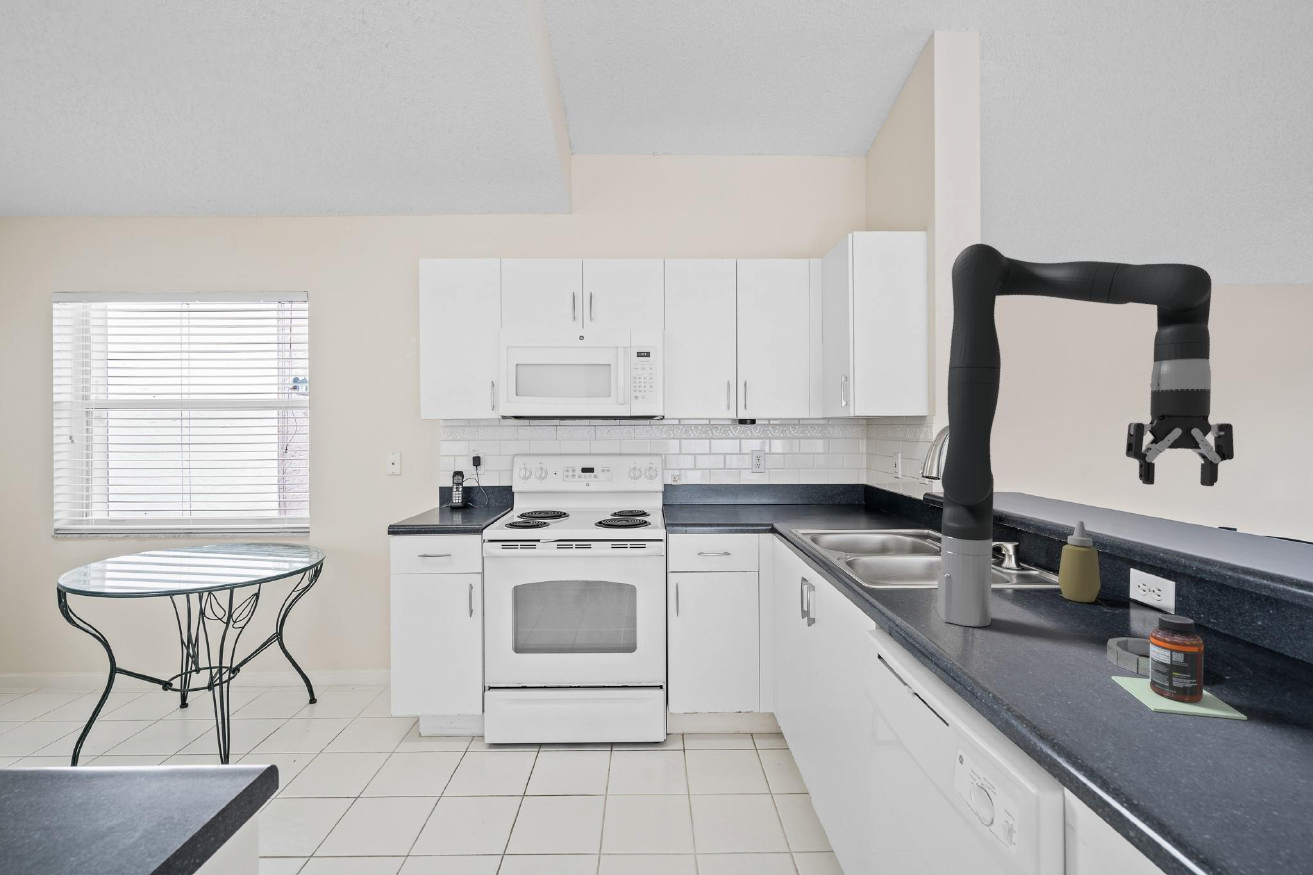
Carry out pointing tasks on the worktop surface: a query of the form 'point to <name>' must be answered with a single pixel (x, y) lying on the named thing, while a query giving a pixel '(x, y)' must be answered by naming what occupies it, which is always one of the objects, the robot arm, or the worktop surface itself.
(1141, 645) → the holder ring
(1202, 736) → the worktop surface
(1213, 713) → the mat
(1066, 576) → the squeeze bottle
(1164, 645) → the supplement bottle
